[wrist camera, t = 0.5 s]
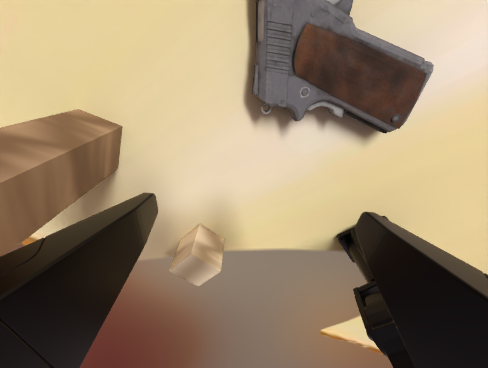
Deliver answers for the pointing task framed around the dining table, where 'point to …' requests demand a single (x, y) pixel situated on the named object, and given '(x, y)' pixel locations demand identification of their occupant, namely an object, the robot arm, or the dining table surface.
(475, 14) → the dining table surface
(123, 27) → the dining table surface
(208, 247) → the maple block
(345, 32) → the handgun
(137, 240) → the robot arm
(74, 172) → the walnut block
